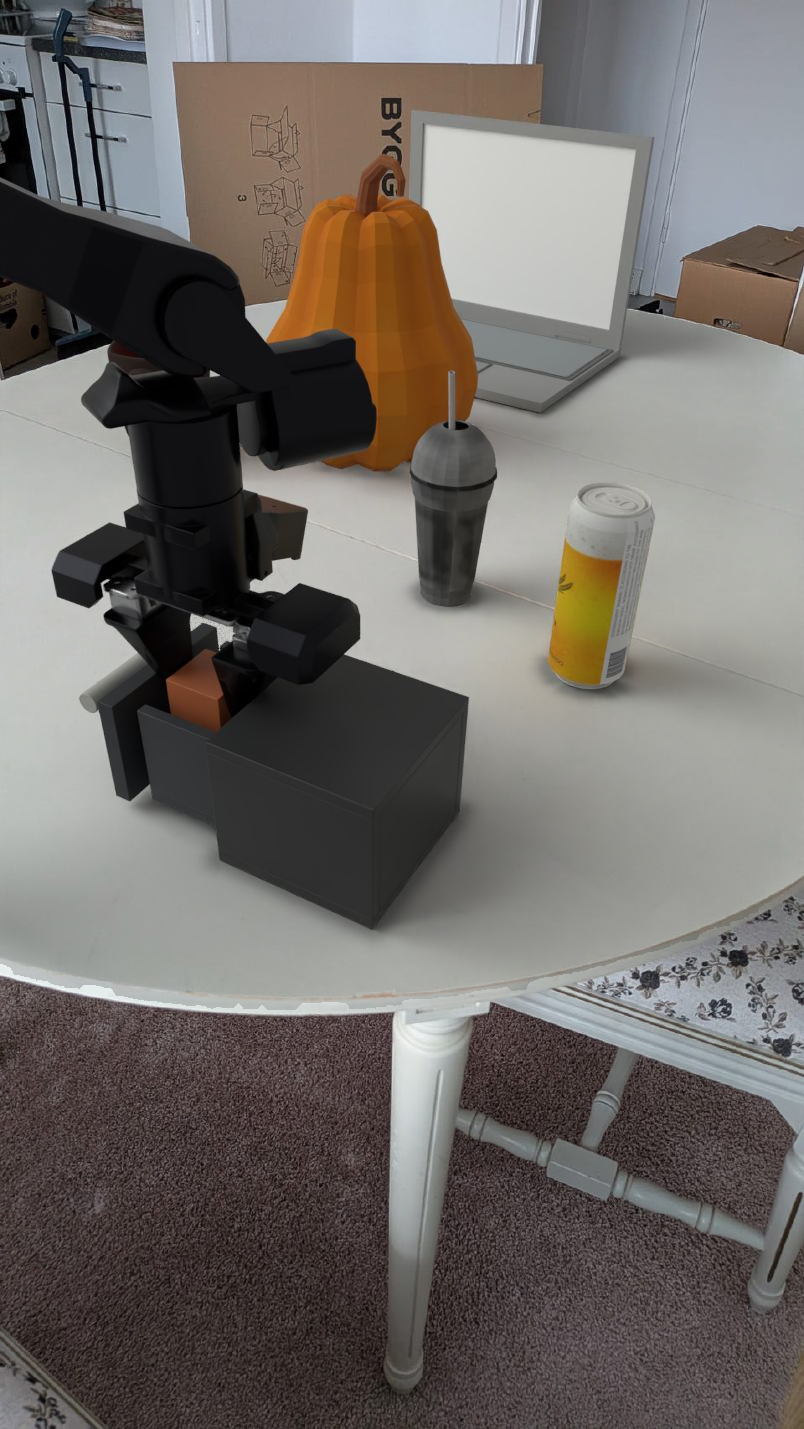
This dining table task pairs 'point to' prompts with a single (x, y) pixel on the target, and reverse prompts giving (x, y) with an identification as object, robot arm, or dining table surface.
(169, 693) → the block
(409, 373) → the decorative pumpkin
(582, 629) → the beer can
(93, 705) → the drawer
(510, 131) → the laptop
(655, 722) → the dining table surface
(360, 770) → the cabinet
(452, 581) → the beverage cup
